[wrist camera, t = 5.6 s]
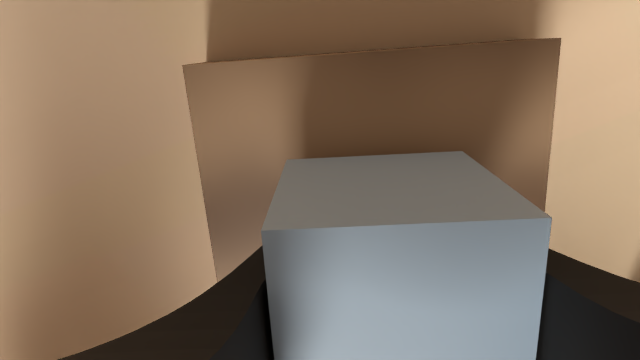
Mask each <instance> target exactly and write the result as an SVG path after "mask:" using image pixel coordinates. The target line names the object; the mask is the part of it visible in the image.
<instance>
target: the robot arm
mask: <svg viewBox="0 0 640 360" xmlns="http://www.w3.org/2000/svg"><path fill="white" fill-rule="evenodd" d="M58 360H274V352H273V342H272V332H271V323H270V313H269V303H268V294H267V284H266V274H265V265H264V255H263V246H261V247H260V248H259V249H257V250H256V251H255V252H254V253H253V254H252V255H251V256H250V257H248V258H247V259H246V260H245V261H244V262H243V263H241V264H240V265H239V266H238V267H237V268H236V269H234V270H233V271H232V272H231V273H230V274H228V275H227V276H226V277H224V278H223V279H222V280H220V281H219V282H218V283H216V284H215V285H214V286H212V287H211V288H210V289H208V290H207V291H206V292H204V293H203V294H201V295H200V296H198V297H197V298H195V299H194V300H192V301H191V302H189V303H187V304H186V305H184V306H182V307H181V308H179V309H177V310H175V311H174V312H172V313H170V314H168V315H166V316H164V317H162V318H160V319H158V320H156V321H154V322H152V323H150V324H148V325H146V326H144V327H142V328H140V329H138V330H136V331H134V332H131V333H129V334H127V335H124V336H122V337H120V338H117V339H115V340H112V341H110V342H107V343H105V344H102V345H99V346H97V347H94V348H91V349H89V350H86V351H83V352H80V353H77V354H74V355H71V356H68V357H65V358H61V359H58ZM536 360H640V283H639V282H635V281H632V280H629V279H626V278H623V277H620V276H617V275H614V274H611V273H609V272H606V271H603V270H601V269H598V268H595V267H593V266H590V265H587V264H585V263H582V262H580V261H577V260H575V259H572V258H570V257H567V256H565V255H563V254H560V253H558V252H556V251H553V250H551V249H549V248H548V256H547V265H546V274H545V283H544V291H543V300H542V309H541V318H540V326H539V335H538V344H537V353H536Z"/></svg>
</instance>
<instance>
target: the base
mask: <svg viewBox="0 0 640 360" xmlns="http://www.w3.org/2000/svg"><path fill="white" fill-rule="evenodd" d="M560 45H561V38H549V39H522V40H508V41H494V42H480V43H466V44H452V45H439V46H425V47H411V48H397V49H383V50H369V51H355V52H341V53H327V54H314V55H300V56H286V57H272V58H258V59H244V60H230V61H216V62H204V63H196V64H189V65H182V66H183V72H184V78H185V84H186V91H187V97H188V103H189V109H190V115H191V122H192V128H193V134H194V140H195V146H196V153H197V159H198V165H199V171H200V177H201V184H202V190H203V196H204V202H205V208H206V215H207V221H208V227H209V233H210V239H211V246H212V252H213V258H214V264H215V270H216V277H217V283H218V282H219V281H220V280H222V279H223V278H224V277H226V276H227V275H228V274H230V273H231V272H232V271H233V270H234V269H236V268H237V267H238V266H239V265H240V264H241V263H243V262H244V261H245V260H246V259H247V258H248V257H250V256H251V255H252V254H253V253H254V252H255V251H256V250H257V249H259V248H260V247H261V246H262V236H261V229H262V226H263V224H264V221H265V218H266V215H267V213H268V210H269V207H270V204H271V202H272V199H273V196H274V193H275V191H276V188H277V185H278V182H279V180H280V177H281V174H282V171H283V169H284V166H285V163H286V160H290V159H310V158H331V157H351V156H371V155H391V154H412V153H432V152H452V151H463V152H464V153H466V154H467V155H468V156H470V157H471V158H472V159H474V160H475V161H476V162H478V163H479V164H480V165H482V166H483V167H484V168H486V169H487V170H488V171H490V172H491V173H492V174H494V175H495V176H496V177H498V178H499V179H500V180H502V181H503V182H504V183H506V184H507V185H509V186H510V187H511V188H513V189H514V190H515V191H517V192H518V193H519V194H521V195H522V196H523V197H525V198H526V199H527V200H529V201H530V202H531V203H533V204H534V205H535V206H537V207H538V208H539V209H541V210H542V211H543V212H544V211H545V201H546V190H547V180H548V170H549V159H550V149H551V139H552V128H553V118H554V108H555V97H556V87H557V77H558V66H559V56H560Z"/></svg>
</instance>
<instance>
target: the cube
mask: <svg viewBox="0 0 640 360" xmlns="http://www.w3.org/2000/svg"><path fill="white" fill-rule="evenodd" d="M551 221H552V217H550V216H549V215H547V214H546V213H545V212H543V211H542V210H541V209H539V208H538V207H537V206H535V205H534V204H533V203H531V202H530V201H529V200H527V199H526V198H525V197H523V196H522V195H521V194H519V193H518V192H517V191H515V190H514V189H513V188H511V187H510V186H509V185H507V184H506V183H504V182H503V181H502V180H500V179H499V178H498V177H496V176H495V175H494V174H492V173H491V172H490V171H488V170H487V169H486V168H484V167H483V166H482V165H480V164H479V163H478V162H476V161H475V160H474V159H472V158H471V157H470V156H468V155H467V154H466V153H464V152H463V151H452V152H432V153H412V154H391V155H371V156H351V157H331V158H310V159H290V160H286V163H285V166H284V169H283V171H282V174H281V177H280V180H279V182H278V185H277V188H276V191H275V193H274V196H273V199H272V202H271V204H270V207H269V210H268V213H267V215H266V218H265V221H264V224H263V226H262V229H261V236H262V246H263V255H264V265H265V274H266V284H267V294H268V303H269V313H270V323H271V332H272V342H273V352H274V360H536V353H537V344H538V335H539V326H540V318H541V309H542V300H543V291H544V283H545V274H546V265H547V256H548V248H549V239H550V230H551Z"/></svg>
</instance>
